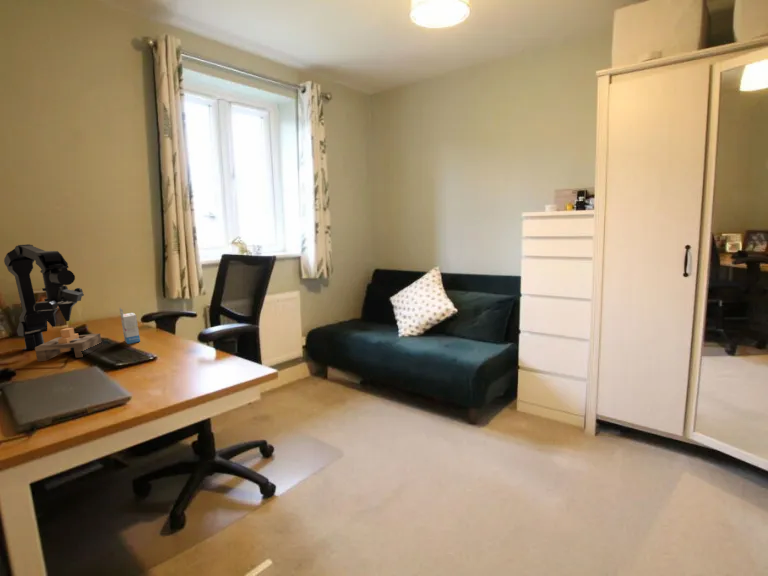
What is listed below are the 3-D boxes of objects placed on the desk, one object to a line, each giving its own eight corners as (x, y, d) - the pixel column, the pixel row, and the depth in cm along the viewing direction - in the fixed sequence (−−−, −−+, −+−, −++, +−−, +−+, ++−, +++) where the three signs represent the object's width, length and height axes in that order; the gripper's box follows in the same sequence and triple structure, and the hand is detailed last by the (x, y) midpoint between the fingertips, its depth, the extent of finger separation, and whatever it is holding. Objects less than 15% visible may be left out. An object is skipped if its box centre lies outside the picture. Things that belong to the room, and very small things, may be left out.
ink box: (141, 341, 177) (135, 307, 174) (127, 344, 174) (121, 309, 171) (137, 338, 183) (132, 305, 181) (124, 340, 180) (118, 307, 178)
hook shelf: (59, 350, 170) (57, 337, 170) (102, 346, 173) (100, 333, 172) (37, 361, 157) (34, 347, 156) (84, 356, 159) (81, 342, 158)
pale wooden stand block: (72, 346, 168) (68, 326, 167) (80, 345, 169) (76, 326, 167) (60, 352, 160) (56, 331, 159) (68, 351, 161) (65, 331, 160)
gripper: (63, 286, 153) (70, 327, 155) (89, 279, 171) (95, 316, 173) (29, 288, 151) (37, 330, 153) (59, 281, 169) (66, 318, 172)
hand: (61, 323), depth 163 cm, fingers open, 9 cm apart
